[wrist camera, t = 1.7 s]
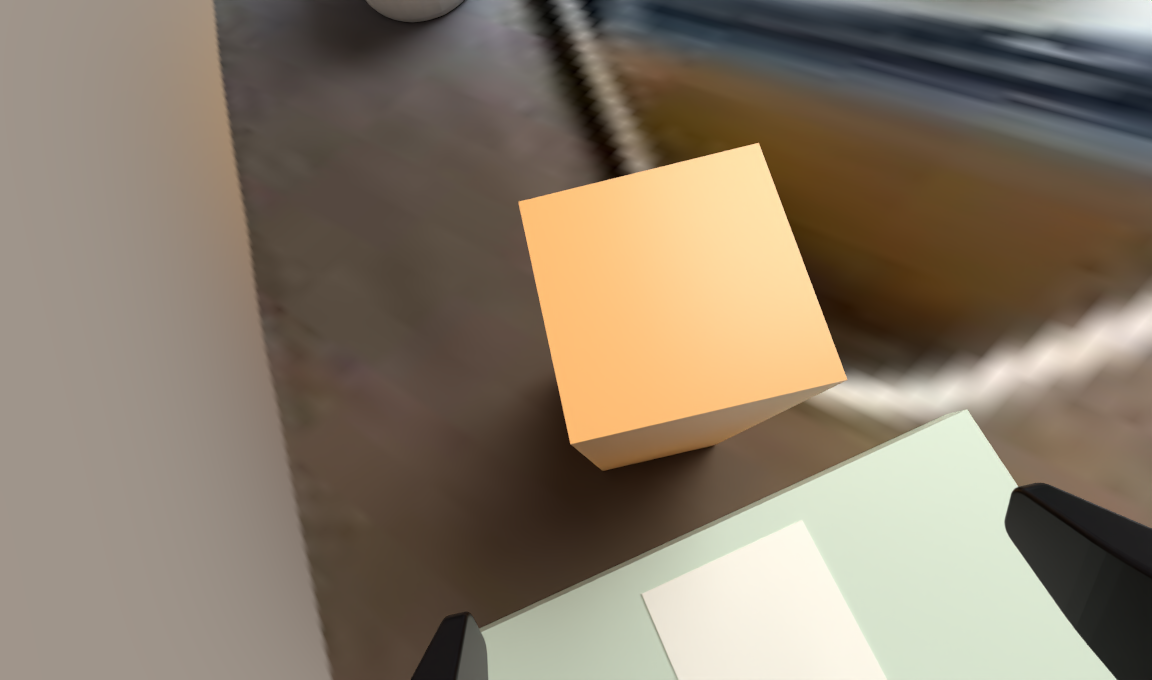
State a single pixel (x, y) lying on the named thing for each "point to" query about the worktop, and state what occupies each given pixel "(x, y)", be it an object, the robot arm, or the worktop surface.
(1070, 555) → the robot arm
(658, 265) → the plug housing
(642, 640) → the board
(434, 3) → the cupcake
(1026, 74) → the worktop surface
